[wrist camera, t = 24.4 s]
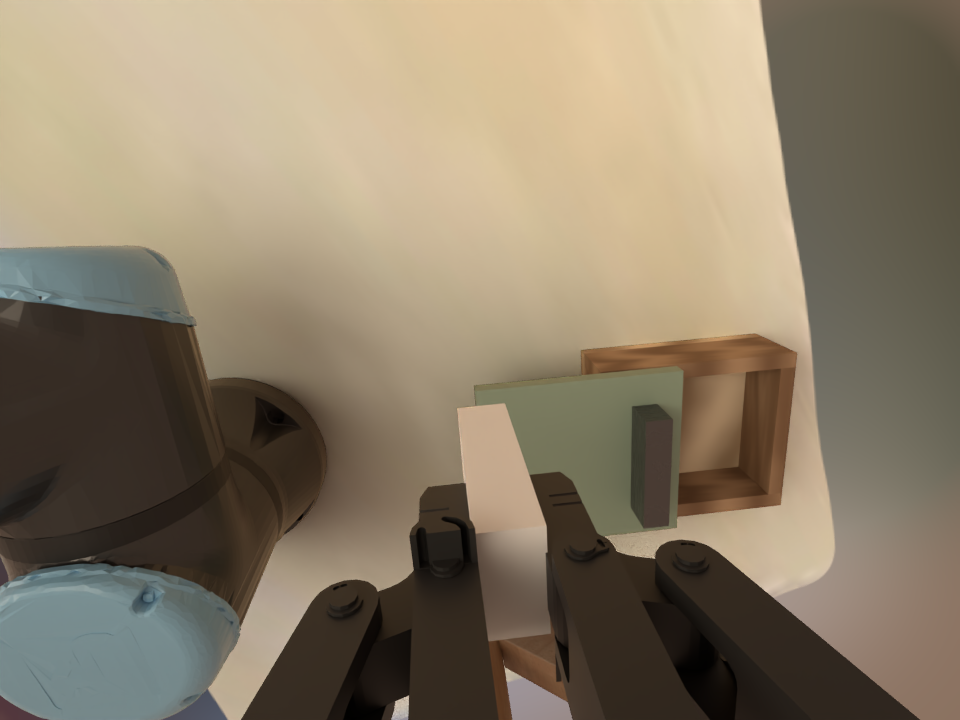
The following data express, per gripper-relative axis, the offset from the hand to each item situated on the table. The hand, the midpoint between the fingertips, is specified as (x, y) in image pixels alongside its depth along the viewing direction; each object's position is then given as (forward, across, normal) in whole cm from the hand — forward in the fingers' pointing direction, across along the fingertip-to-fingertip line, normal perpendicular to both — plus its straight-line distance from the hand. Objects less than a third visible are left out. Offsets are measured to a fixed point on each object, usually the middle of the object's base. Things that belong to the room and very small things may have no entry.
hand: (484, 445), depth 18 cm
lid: (+24, +9, -14) cm, 29 cm away
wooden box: (+30, +19, -14) cm, 38 cm away
